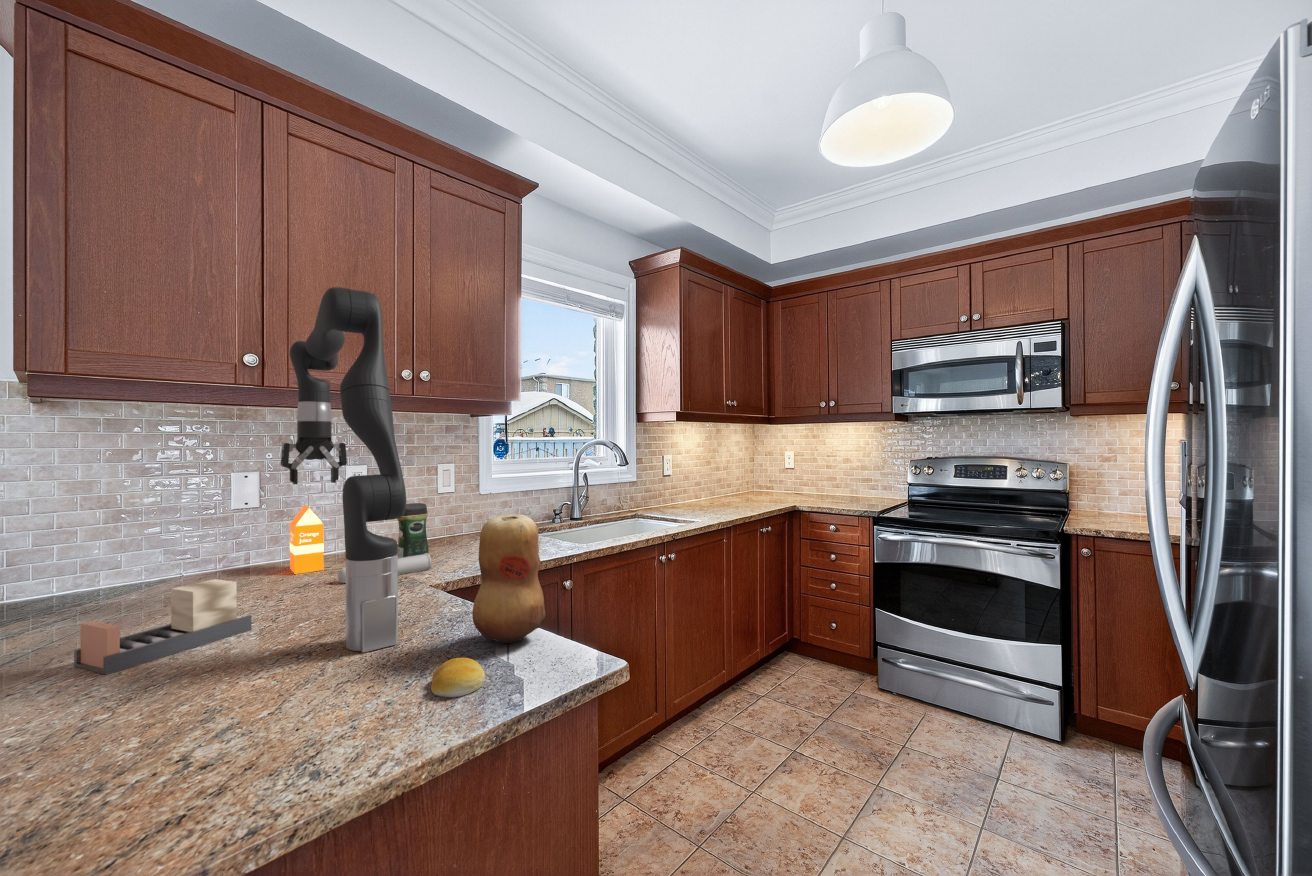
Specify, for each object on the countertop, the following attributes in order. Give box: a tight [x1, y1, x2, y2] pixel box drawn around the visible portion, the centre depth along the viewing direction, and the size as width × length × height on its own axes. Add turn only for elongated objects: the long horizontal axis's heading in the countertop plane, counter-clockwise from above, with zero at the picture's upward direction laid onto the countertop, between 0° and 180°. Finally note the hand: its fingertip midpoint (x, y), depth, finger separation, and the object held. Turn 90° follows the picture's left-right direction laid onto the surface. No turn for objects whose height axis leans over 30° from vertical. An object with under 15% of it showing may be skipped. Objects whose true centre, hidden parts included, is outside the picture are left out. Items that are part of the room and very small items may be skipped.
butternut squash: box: [472, 513, 546, 644], centre depth 110 cm, size 14×13×25 cm
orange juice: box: [289, 504, 325, 575], centre depth 171 cm, size 8×9×20 cm
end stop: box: [80, 620, 121, 668], centre depth 98 cm, size 2×8×7 cm, turn 69°
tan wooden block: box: [170, 578, 238, 632], centre depth 114 cm, size 8×7×8 cm
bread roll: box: [430, 657, 486, 698], centre depth 91 cm, size 8×9×4 cm
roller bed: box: [73, 614, 253, 675], centre depth 108 cm, size 24×10×3 cm, turn 159°
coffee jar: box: [396, 502, 430, 558], centre depth 188 cm, size 10×8×19 cm
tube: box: [337, 553, 432, 584], centre depth 163 cm, size 5×5×25 cm
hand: (314, 483), depth 142 cm, fingers open, 8 cm apart
